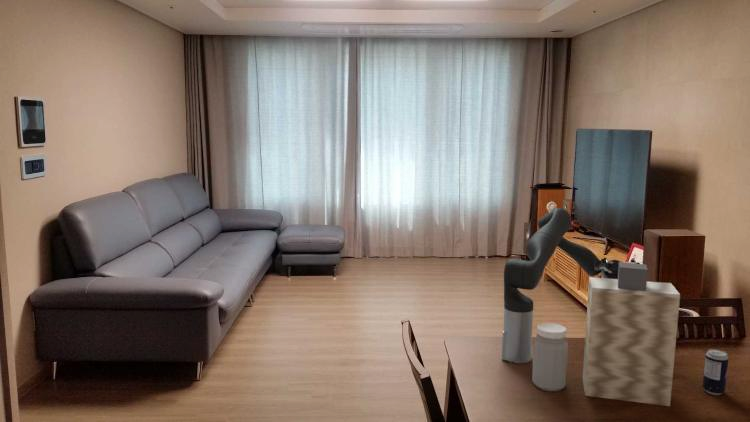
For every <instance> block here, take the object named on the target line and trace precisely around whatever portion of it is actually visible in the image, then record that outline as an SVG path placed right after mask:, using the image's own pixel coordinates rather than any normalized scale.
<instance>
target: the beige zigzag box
mask: <svg viewBox="0 0 750 422" xmlns="http://www.w3.org/2000/svg"><path fill="white" fill-rule="evenodd" d="M617 281H618V279H606V278H599V277H594V276H589V277H588V288H587V290H588V292H587V306H586V309H587V310H586V321H585V322H586V323H585V334H584V353H583V368H582V369H583V370H582V383H583V384H582V385H583V389H584V390H583V391H584V396H585V397H586V396H587V397H594V398H602V399H609V400H618V401H625V402H635V403H641V404H648V405H656V406H657V405H658V406H665V407H671V399H672V387H673V378H674V377H673V376H674V368H675V367H674V366H675V358H676V357H675V354H676V345H677V334H678V333H677V332H678V323H679V313H680V312H679V311H680V300H681V294H680V292H679V291H678V290H677V289H676V287H675V286H674V285H673V284H672V282H660V281H647V284H646V291H640V290H630V289H620V288H618V283H617Z"/></svg>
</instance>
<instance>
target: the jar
mask: <svg viewBox="0 0 750 422" xmlns="http://www.w3.org/2000/svg"><path fill="white" fill-rule="evenodd" d="M536 333H537V334H536V337H535V338H534V341H533V353H532V354H533V355H532V374H531V375H532V376H531V377H532V378H531V381H532V382H533V384H534V385H535V387H537V388H538V389H540V390H542V391H547V392H558V391H561V390H562V389H564V388H565V387H566V384H567V383H566V382H567V369H568V368H567V367H568V351H569V350H568V349H569V343H568V341H567V340H566V339H567V327H565V326H564V325H563V324H559V323H556V322H542V323H539V324H537V326H536Z"/></svg>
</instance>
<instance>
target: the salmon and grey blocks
mask: <svg viewBox="0 0 750 422" xmlns="http://www.w3.org/2000/svg"><path fill="white" fill-rule="evenodd" d="M636 263H637V262H636ZM636 263H634V262H630V261H621V262H619V268H618V281H617V283H618V288H620V289H630V290H640V291H646V284H647V282H648V267H647V264H645V263H640V264H636Z"/></svg>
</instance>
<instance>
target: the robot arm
mask: <svg viewBox="0 0 750 422" xmlns="http://www.w3.org/2000/svg"><path fill="white" fill-rule="evenodd" d="M572 221H573V220H572V217H571V214H570V213H569V211H568V210H566V209H564V208H561V207H558V208H557V207H556V208H554V209H552V210H550V211H549V212H547V213H546V214H544V215H543V216H541V217H540V218H539V219H538V222H537V223H538V224H537V225H538V228H539V229H537V231H535V233H534V234H532V236H531V237H530V239H529V240H528V242H527V244H526V246H525V252H526V255H527V257H528V259H529V260H525V259H524V260H523V259H517V258H510V259H508V260H507V261H506V262H505V265H504V269H503V302H504V304H503V305H504V306H503V326H502V327H503V328H502V339H501V340H502V341H501V342H502V344H501V345H502V346H501V360H502V361H506V360H507V362H508V361H509V362H508V363H512V362H514V363H513V364H527V363H529V362H531V360H532V344H533V343H532V342H533V319H534V300H532V299H531V298H530V297H529V296H527V295H525V294H524V293H522V292H521V291H520V290H519V289H521V290H526V291H528V290H529V291H531V290H534V289H536V288H537V286H538V285H539V283H540V280H541V278H542V276H543V273H544V272H545V268H546V267H547V264H548V263H549V261H550V259H551V258H552V256H553V254H554V253H555V251H556V249H557V248H559V249H560V250H562V251H563V252H564V253H565V254H567V255H568V256H569V257H570V258H572V259H573V260H574V261H575V263H577V264H578V266H580V268H581V269H582V270H583V271H584V272H585V273H586V274H587V275H588V276H589V277H595V276H597V275H599V274H600V276H599V277H598V278H606V279H618V268H619V262H622V261H620V260H618V259H610V260H608V259H607V257H603V258H601V259H600V258H599V257H598V256H597V255H596V254H595V253H594V252H593V251H592V250H591V249H590V248H588V247H586V246H584V245H580V244H579V243H576V242H573V241H571V240H569V239H567V238H566V237H564V235H566V233H568V231H569V230H570V229H571V228H572V224H573V223H572ZM629 262H634V263H636V264H641V263H640V262H639V261H638V262H637V261H636V260H635V259H632V258H631V260H630V261H629Z"/></svg>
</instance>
